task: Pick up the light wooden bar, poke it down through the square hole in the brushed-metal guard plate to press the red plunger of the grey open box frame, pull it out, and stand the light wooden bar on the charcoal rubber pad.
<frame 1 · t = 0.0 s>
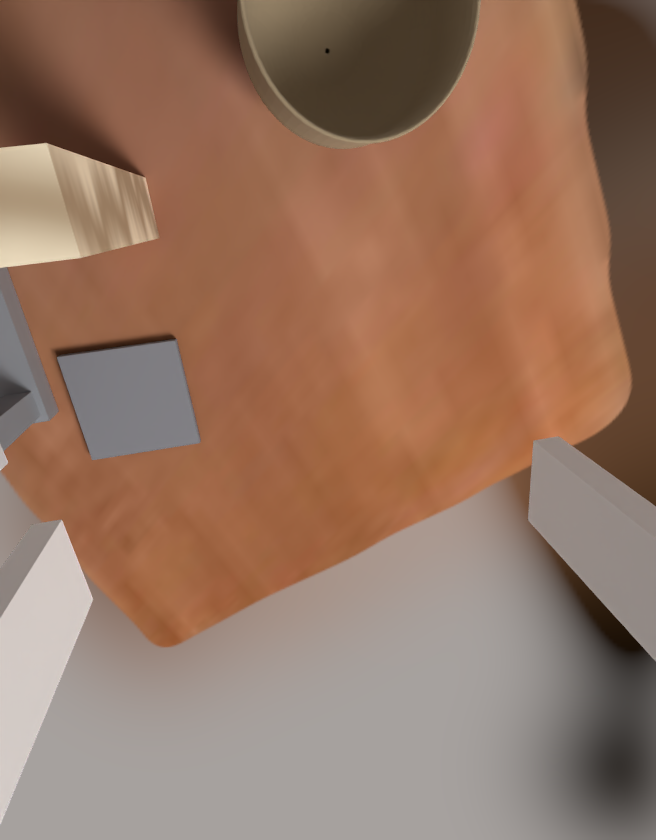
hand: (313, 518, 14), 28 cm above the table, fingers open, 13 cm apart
pad: (134, 399, 40), on the table
bowl: (334, 56, 33), on the table
light wooden bar: (124, 211, 35), on the table
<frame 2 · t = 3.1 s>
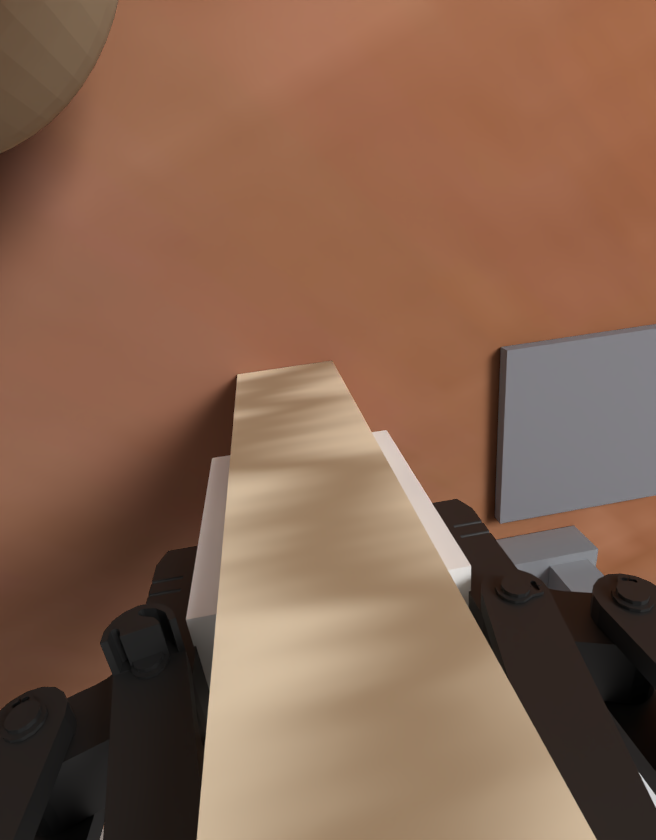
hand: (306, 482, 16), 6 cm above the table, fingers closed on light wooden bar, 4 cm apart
grey open box frame: (449, 645, 28), on the table
pad: (585, 423, 24), on the table
light wooden bar: (291, 411, 21), on the table, touching gripper
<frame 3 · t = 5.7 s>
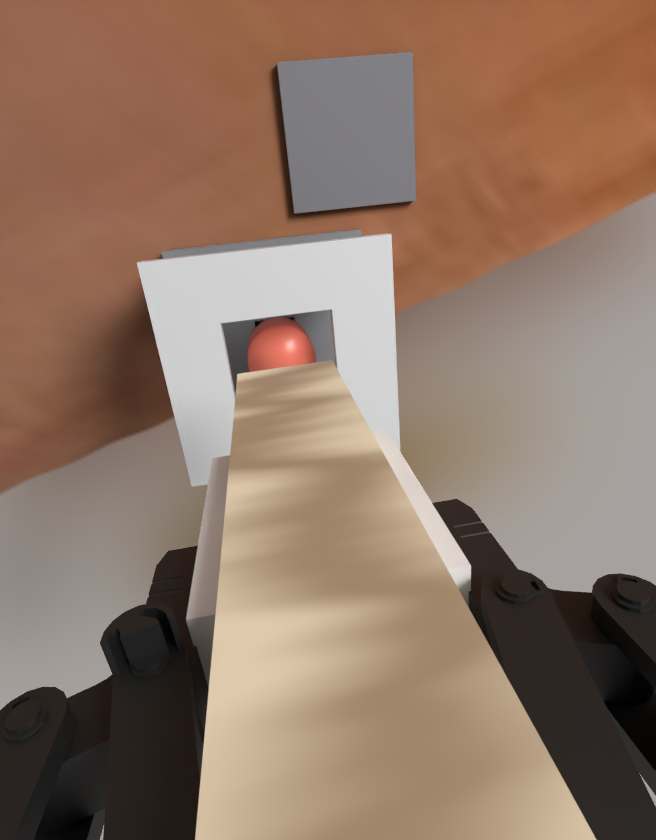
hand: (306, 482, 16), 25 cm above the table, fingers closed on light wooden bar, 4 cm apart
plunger: (279, 349, 34), point 5 cm above the table, slide at 0.0 cm
grey open box frame: (275, 332, 39), on the table
pad: (349, 137, 34), on the table
light wooden bar: (291, 410, 21), point 19 cm above the table, touching gripper
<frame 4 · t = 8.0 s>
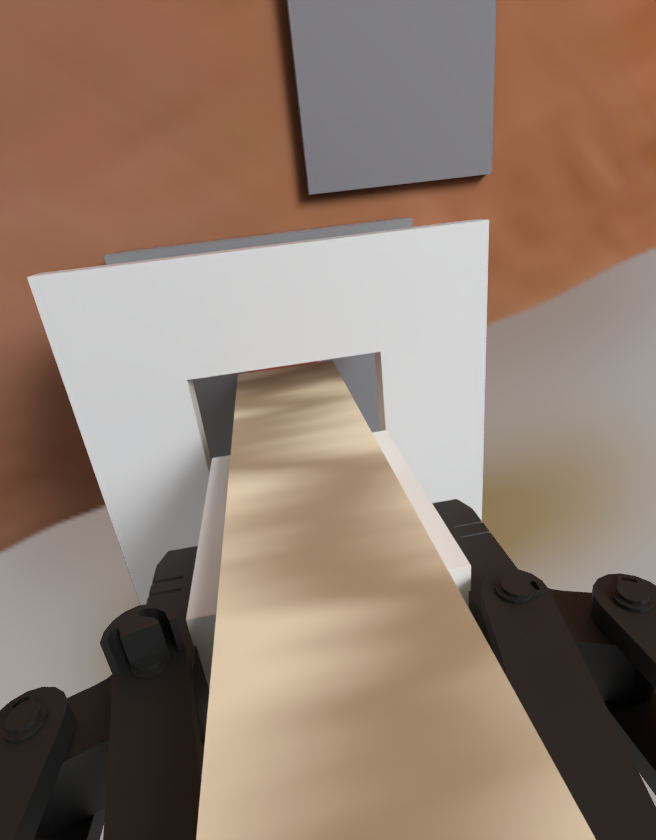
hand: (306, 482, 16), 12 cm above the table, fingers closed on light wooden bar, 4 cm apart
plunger: (285, 390, 24), point 3 cm above the table, slide at 2.0 cm, touching light wooden bar
grey open box frame: (282, 370, 27), on the table
pad: (393, 74, 22), on the table
light wooden bar: (292, 411, 21), point 6 cm above the table, touching gripper, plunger
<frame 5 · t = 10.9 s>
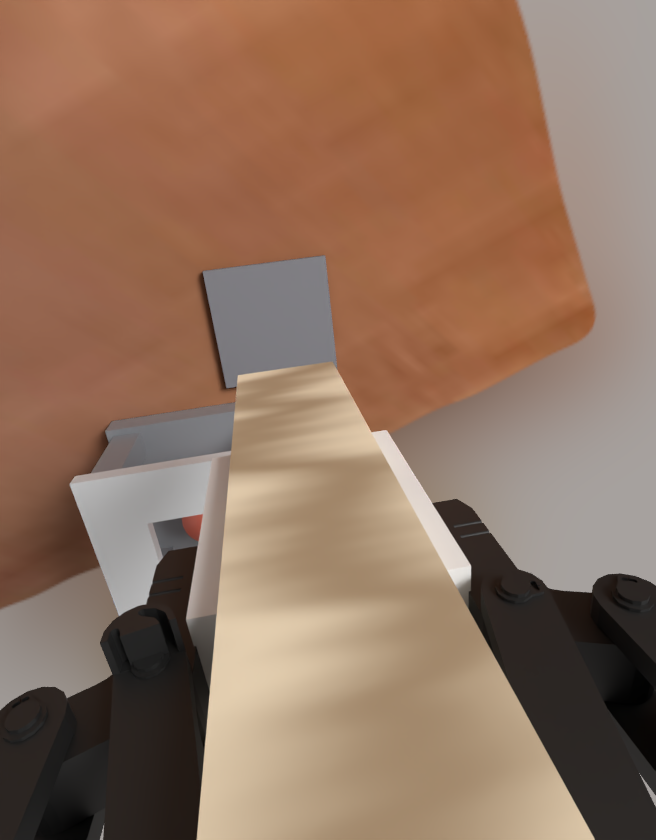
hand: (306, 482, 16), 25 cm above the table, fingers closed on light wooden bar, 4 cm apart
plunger: (214, 501, 40), point 3 cm above the table, slide at 2.1 cm
grey open box frame: (216, 481, 43), on the table
pad: (273, 323, 38), on the table
light wooden bar: (292, 412, 21), point 18 cm above the table, touching gripper
when the fingers open (8 cm above the table, at t = 13.7 s): light wooden bar stays where it is, resting on pad.
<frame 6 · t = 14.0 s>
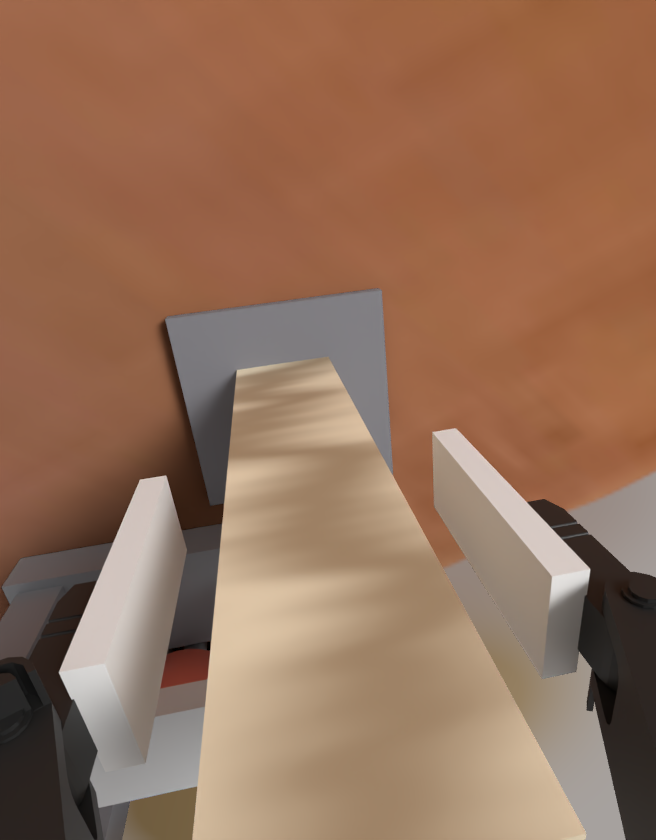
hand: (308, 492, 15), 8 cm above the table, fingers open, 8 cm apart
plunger: (190, 686, 24), point 3 cm above the table, slide at 2.1 cm
grey open box frame: (197, 635, 27), on the table
pad: (289, 400, 22), on the table
light wooden bar: (289, 405, 22), point 1 cm above the table, touching pad
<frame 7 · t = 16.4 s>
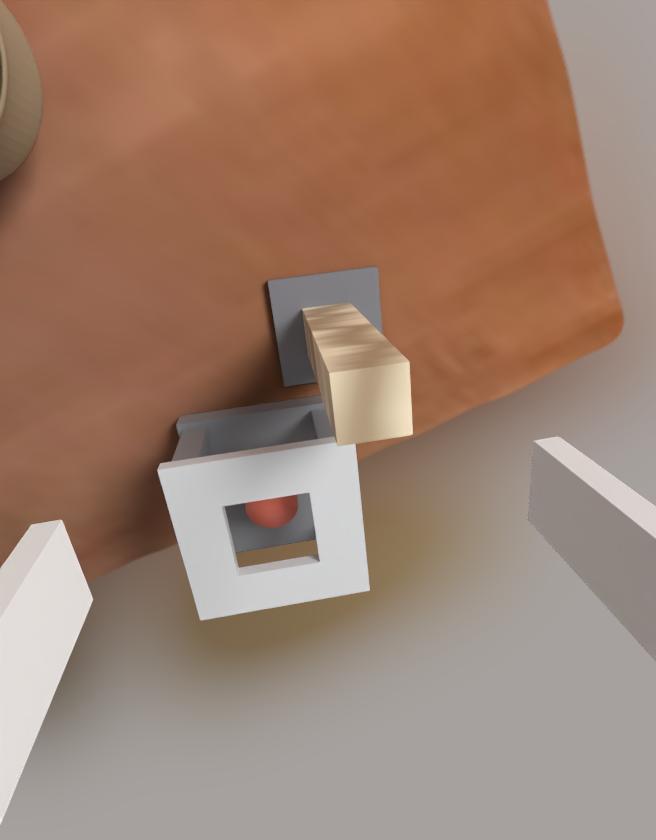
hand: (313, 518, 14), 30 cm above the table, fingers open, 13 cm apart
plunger: (271, 489, 43), point 3 cm above the table, slide at 2.1 cm
grey open box frame: (270, 472, 46), on the table
pad: (328, 327, 42), on the table
light wooden bar: (328, 329, 41), point 1 cm above the table, touching pad
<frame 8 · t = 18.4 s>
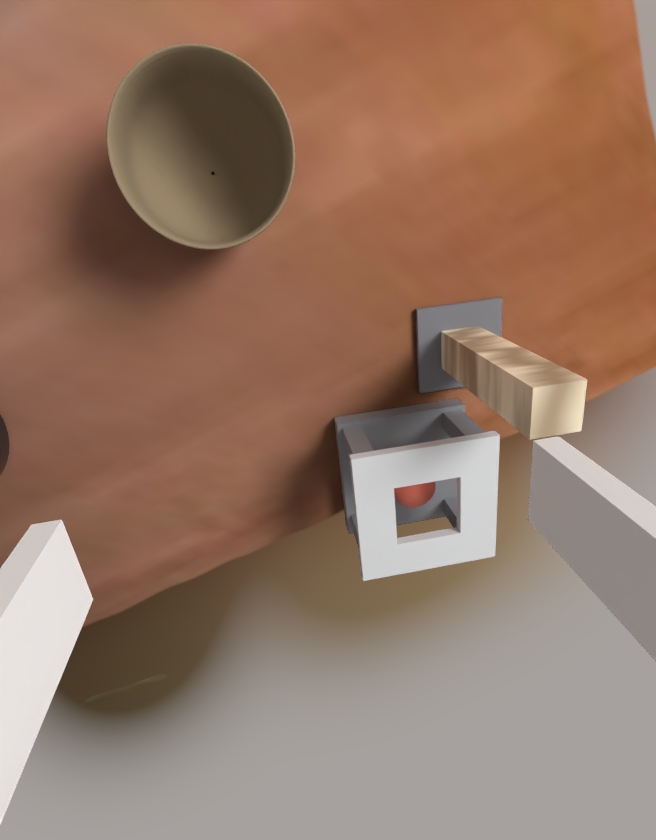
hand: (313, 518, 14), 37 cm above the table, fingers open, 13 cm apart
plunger: (407, 476, 53), point 3 cm above the table, slide at 2.1 cm
grey open box frame: (399, 463, 56), on the table
pad: (457, 345, 52), on the table
bowl: (213, 166, 42), on the table
light wooden bar: (459, 347, 51), point 1 cm above the table, touching pad
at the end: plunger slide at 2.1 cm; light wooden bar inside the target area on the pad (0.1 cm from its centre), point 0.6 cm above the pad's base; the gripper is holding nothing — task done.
